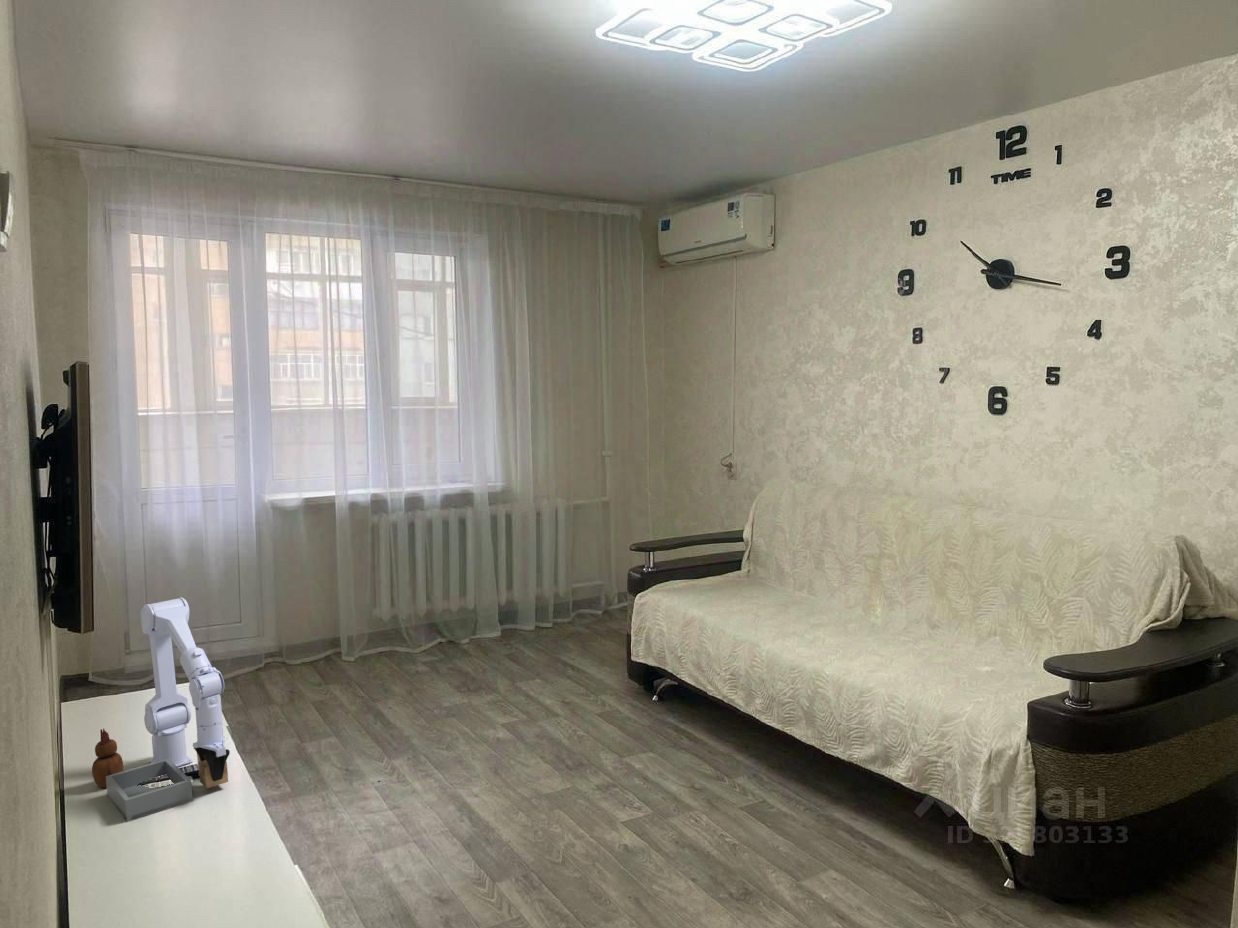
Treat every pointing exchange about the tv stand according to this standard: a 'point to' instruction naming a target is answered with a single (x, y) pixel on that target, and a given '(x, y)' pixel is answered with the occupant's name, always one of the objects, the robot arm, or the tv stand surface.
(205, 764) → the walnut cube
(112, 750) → the wooden figurine
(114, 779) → the tote
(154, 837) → the tv stand surface
